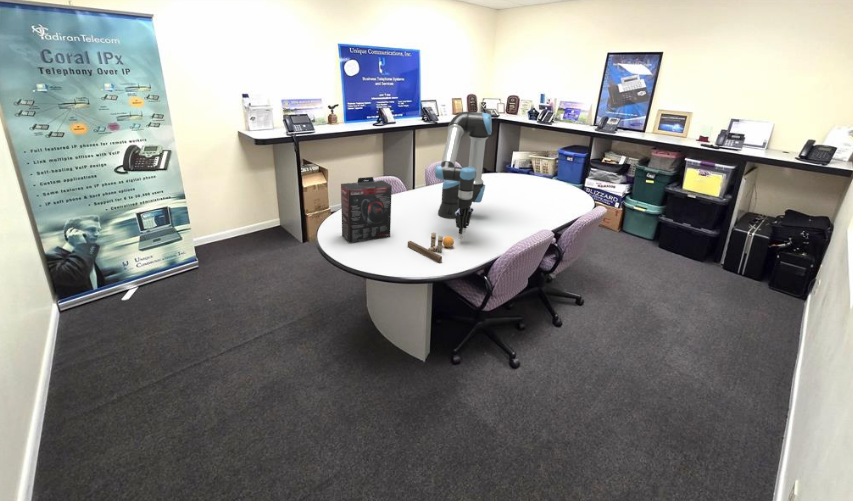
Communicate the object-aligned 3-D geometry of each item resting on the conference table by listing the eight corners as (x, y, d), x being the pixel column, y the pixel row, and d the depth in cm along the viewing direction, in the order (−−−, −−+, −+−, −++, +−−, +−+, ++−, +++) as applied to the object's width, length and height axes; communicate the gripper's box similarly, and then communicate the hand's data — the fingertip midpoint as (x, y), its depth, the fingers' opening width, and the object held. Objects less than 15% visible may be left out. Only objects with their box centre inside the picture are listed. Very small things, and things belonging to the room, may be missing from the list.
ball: (438, 243, 220) (445, 246, 224) (446, 247, 216) (452, 250, 221) (443, 233, 220) (449, 236, 224) (451, 237, 216) (457, 240, 220)
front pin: (439, 243, 219) (428, 247, 213) (443, 245, 217) (431, 248, 212) (439, 247, 220) (427, 251, 214) (442, 249, 218) (431, 253, 213)
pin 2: (439, 250, 216) (440, 235, 213) (442, 252, 215) (443, 236, 211) (435, 251, 215) (437, 236, 211) (439, 253, 213) (440, 238, 210)
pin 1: (432, 247, 220) (433, 232, 216) (436, 248, 218) (437, 233, 215) (429, 248, 218) (430, 233, 215) (432, 249, 217) (433, 234, 213)
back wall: (410, 245, 220) (410, 240, 219) (441, 261, 204) (442, 256, 203) (407, 246, 219) (407, 241, 217) (438, 263, 203) (439, 257, 201)
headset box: (382, 229, 239) (382, 173, 226) (391, 237, 230) (392, 178, 216) (341, 235, 227) (339, 176, 214) (349, 244, 218) (347, 182, 204)
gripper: (461, 201, 211) (458, 243, 221) (478, 197, 220) (474, 238, 229) (451, 197, 216) (448, 239, 226) (468, 194, 225) (464, 234, 234)
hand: (461, 238), depth 228 cm, fingers closed
